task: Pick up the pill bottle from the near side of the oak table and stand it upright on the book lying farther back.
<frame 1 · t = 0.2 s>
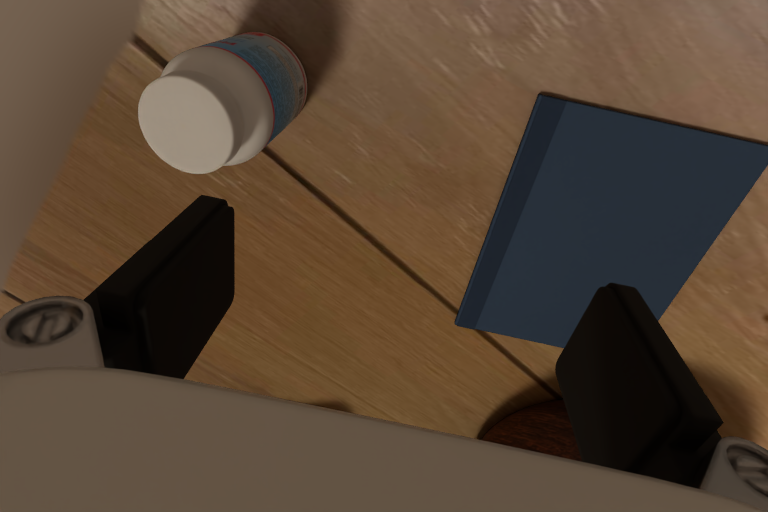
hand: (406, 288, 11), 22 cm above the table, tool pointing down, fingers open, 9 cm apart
wooden bowl: (569, 455, 48), on the table
book: (590, 247, 34), on the table
pill bottle: (266, 80, 30), on the table
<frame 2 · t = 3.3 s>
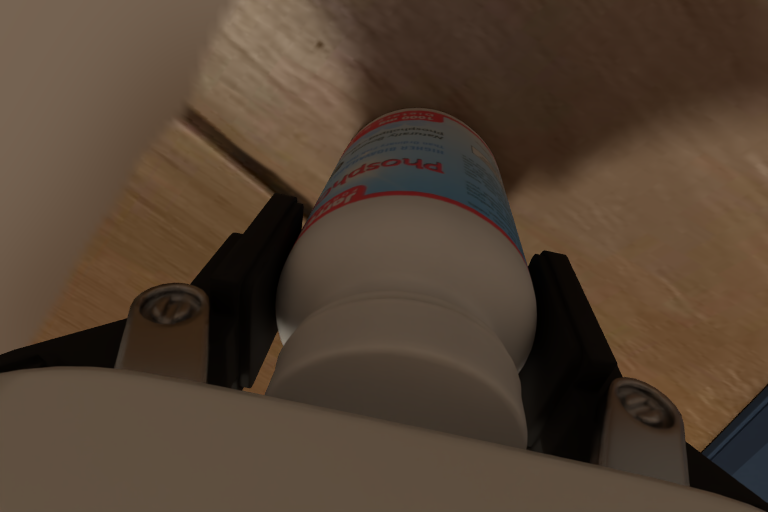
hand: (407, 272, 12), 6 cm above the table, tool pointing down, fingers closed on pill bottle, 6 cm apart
pill bottle: (416, 183, 17), on the table, touching gripper
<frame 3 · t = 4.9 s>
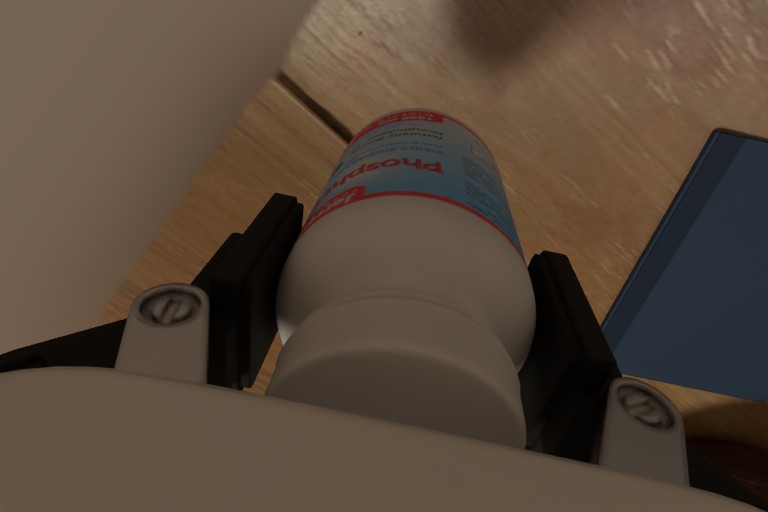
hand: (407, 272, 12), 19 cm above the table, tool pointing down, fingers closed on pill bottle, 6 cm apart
wooden bowl: (679, 496, 45), on the table
book: (741, 287, 32), on the table
pill bottle: (416, 183, 17), point 13 cm above the table, touching gripper
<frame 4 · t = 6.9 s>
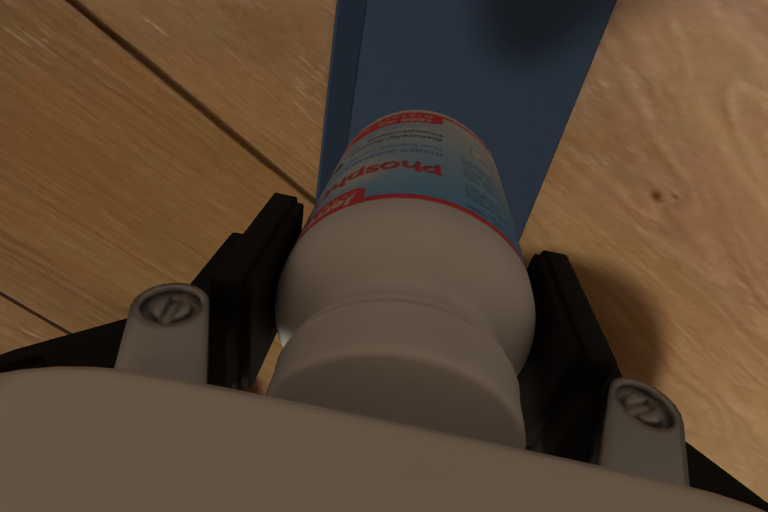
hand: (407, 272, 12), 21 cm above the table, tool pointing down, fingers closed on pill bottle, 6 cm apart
book: (444, 110, 30), on the table
pill bottle: (416, 185, 17), point 15 cm above the table, touching gripper
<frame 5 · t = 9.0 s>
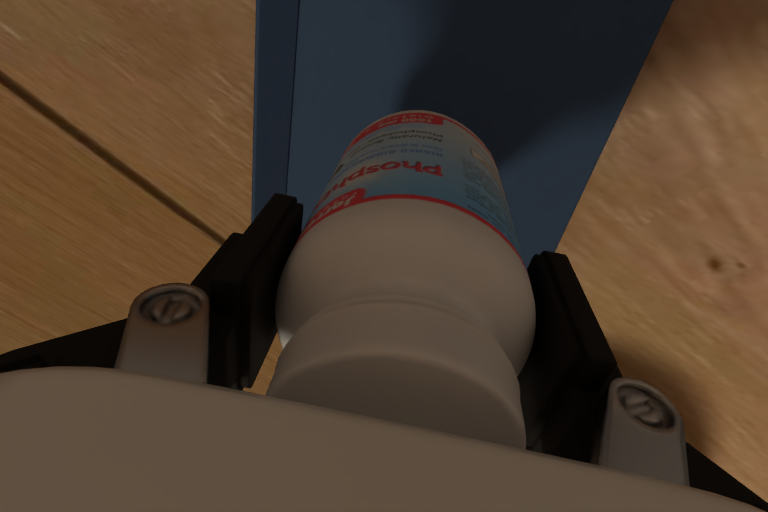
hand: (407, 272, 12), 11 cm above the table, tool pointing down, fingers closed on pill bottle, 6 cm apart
book: (420, 146, 21), on the table
pill bottle: (416, 185, 17), point 5 cm above the table, touching gripper
when the fingers open (6 cm above the table, at t = 10.6 s): pill bottle stays where it is, resting on book.
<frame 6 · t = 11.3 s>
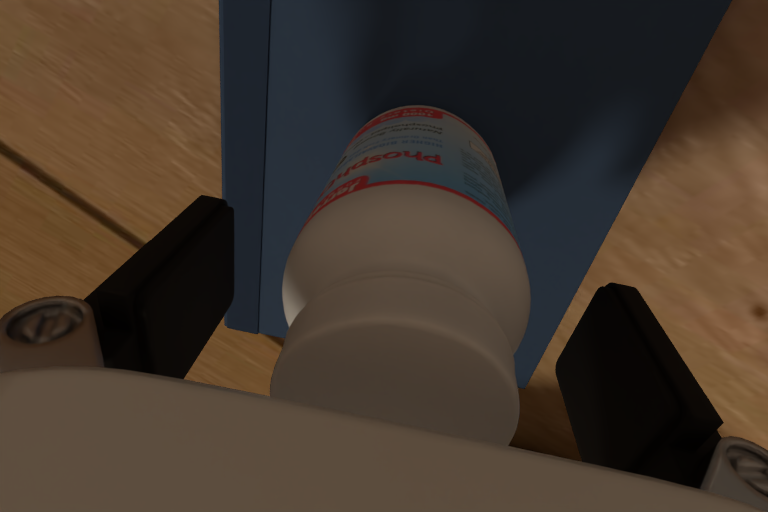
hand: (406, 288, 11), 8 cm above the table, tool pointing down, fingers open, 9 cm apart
book: (418, 178, 18), on the table
pill bottle: (417, 179, 18), resting on book
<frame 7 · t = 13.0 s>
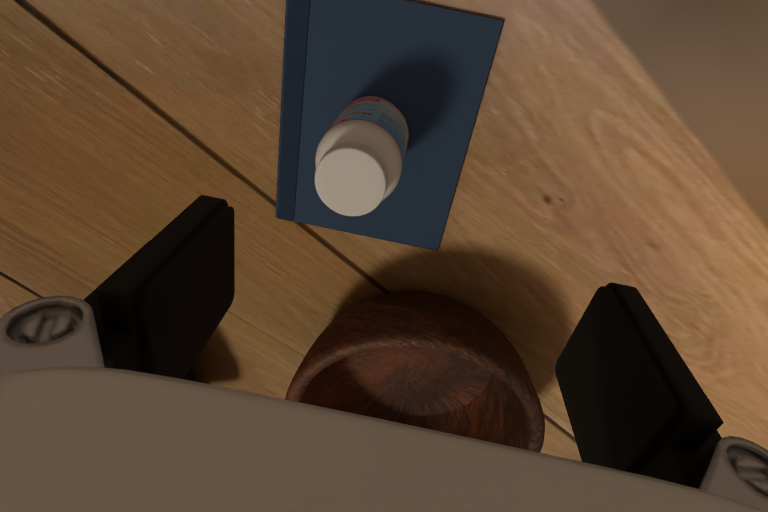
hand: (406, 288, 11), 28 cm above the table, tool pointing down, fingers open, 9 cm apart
wooden bowl: (415, 358, 51), on the table
book: (373, 131, 37), on the table
pill bottle: (373, 131, 37), resting on book
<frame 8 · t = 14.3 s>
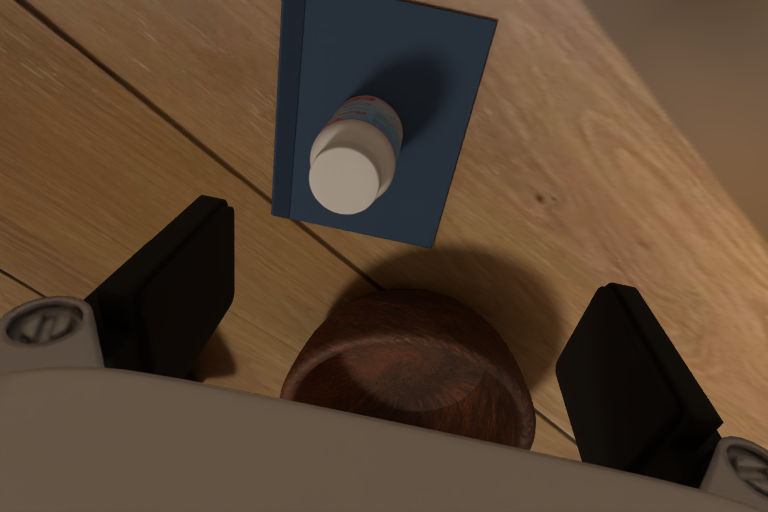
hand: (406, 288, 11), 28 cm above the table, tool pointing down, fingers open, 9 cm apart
wooden bowl: (409, 354, 51), on the table
book: (368, 130, 38), on the table
pill bottle: (367, 130, 38), resting on book
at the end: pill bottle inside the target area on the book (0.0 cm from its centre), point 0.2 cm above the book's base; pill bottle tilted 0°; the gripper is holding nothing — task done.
